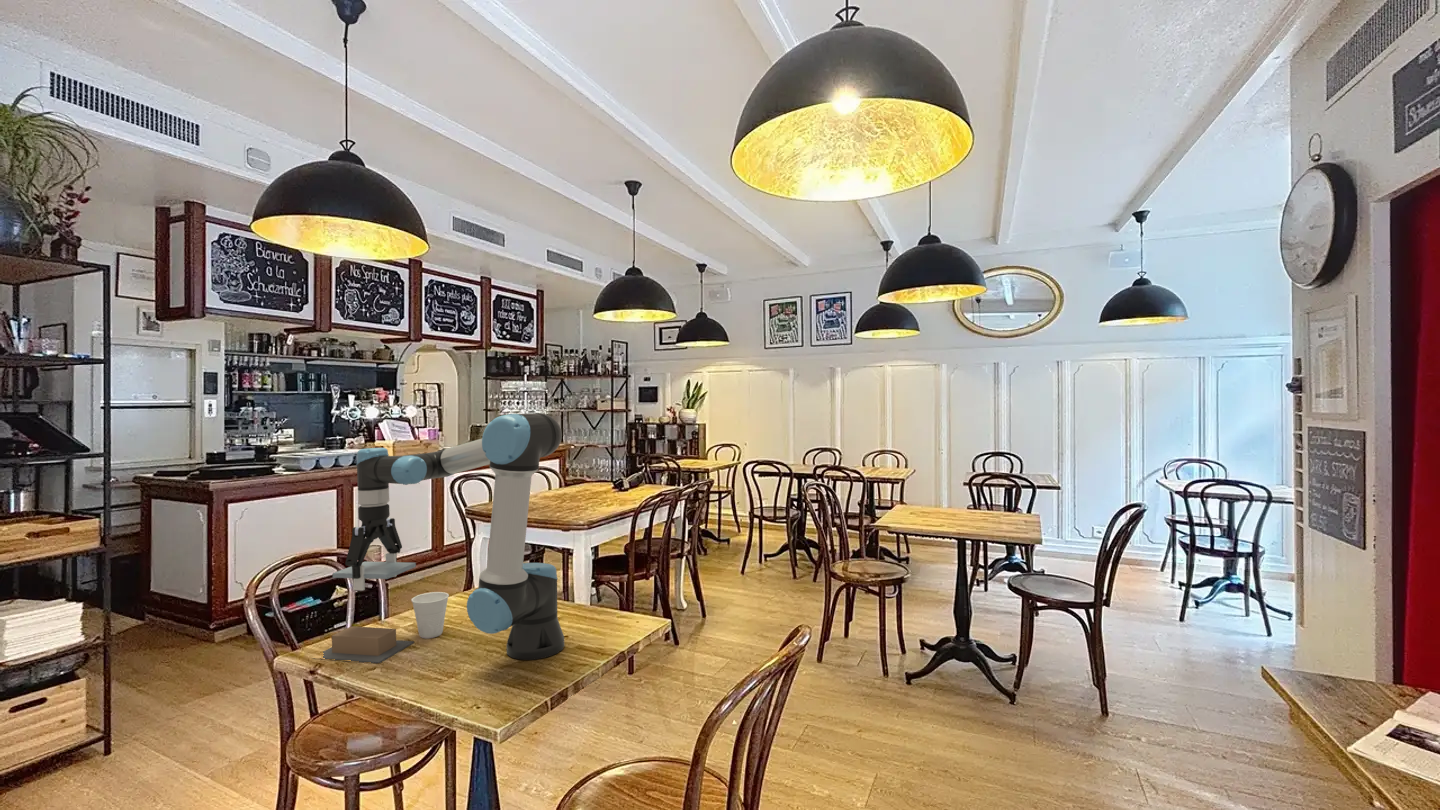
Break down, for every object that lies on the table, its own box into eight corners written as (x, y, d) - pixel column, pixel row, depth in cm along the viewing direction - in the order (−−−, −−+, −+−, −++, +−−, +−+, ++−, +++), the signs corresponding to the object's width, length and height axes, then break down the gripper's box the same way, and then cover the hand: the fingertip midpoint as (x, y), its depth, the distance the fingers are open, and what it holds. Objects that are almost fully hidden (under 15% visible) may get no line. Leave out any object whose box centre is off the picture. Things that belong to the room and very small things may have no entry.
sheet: (415, 566, 178) (415, 562, 178) (387, 579, 166) (386, 574, 166) (364, 565, 181) (364, 561, 181) (332, 577, 169) (332, 573, 169)
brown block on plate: (414, 642, 177) (414, 624, 177) (379, 663, 163) (378, 644, 163) (351, 638, 181) (351, 621, 181) (311, 658, 167) (311, 639, 167)
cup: (440, 641, 178) (439, 602, 178) (405, 641, 178) (404, 602, 178) (455, 628, 188) (454, 591, 188) (422, 628, 188) (421, 591, 188)
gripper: (390, 497, 186) (392, 570, 186) (327, 512, 162) (329, 596, 162) (414, 497, 185) (416, 571, 185) (353, 512, 161) (356, 597, 161)
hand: (375, 583), depth 173 cm, fingers closed on sheet, 12 cm apart
